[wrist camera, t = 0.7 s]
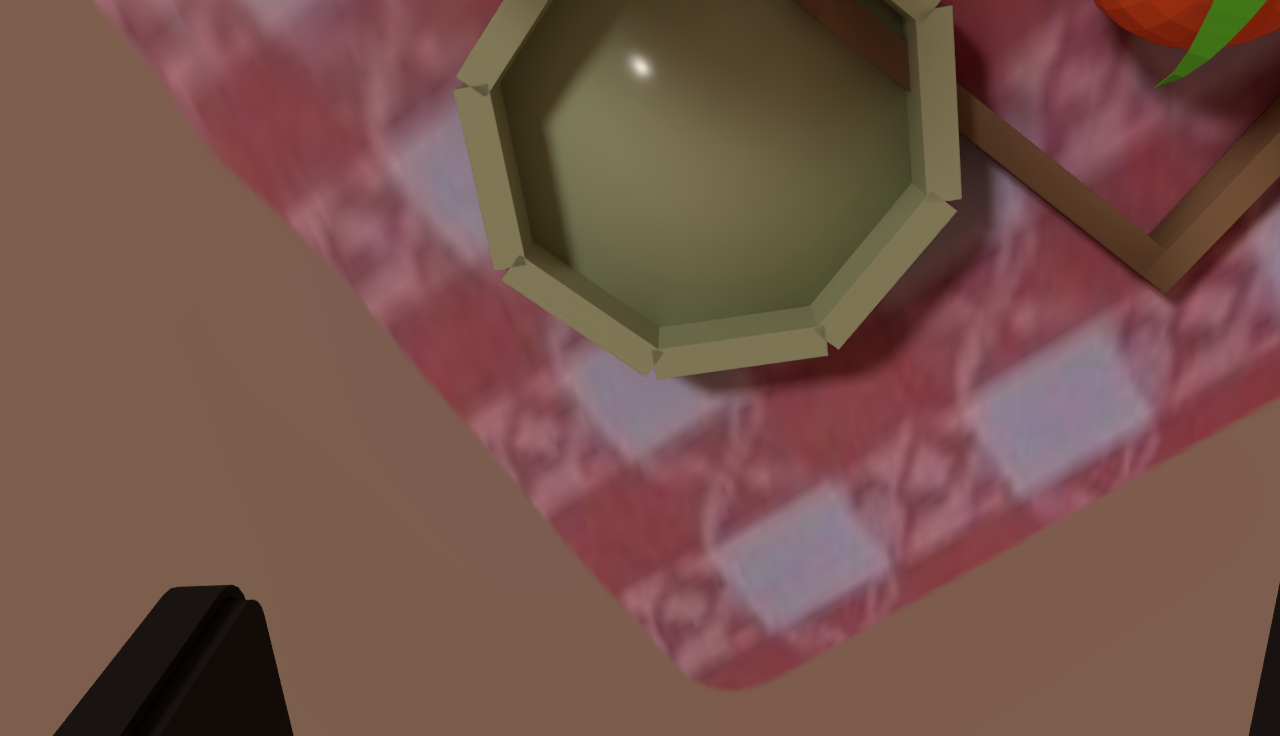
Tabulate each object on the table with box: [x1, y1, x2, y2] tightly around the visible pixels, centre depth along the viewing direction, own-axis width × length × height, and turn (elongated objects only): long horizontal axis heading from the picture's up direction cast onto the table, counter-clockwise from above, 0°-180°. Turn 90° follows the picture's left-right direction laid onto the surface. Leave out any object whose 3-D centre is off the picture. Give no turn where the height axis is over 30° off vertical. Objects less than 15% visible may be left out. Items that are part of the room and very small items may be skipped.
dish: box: [454, 0, 962, 380], centre depth 31 cm, size 14×14×3 cm
